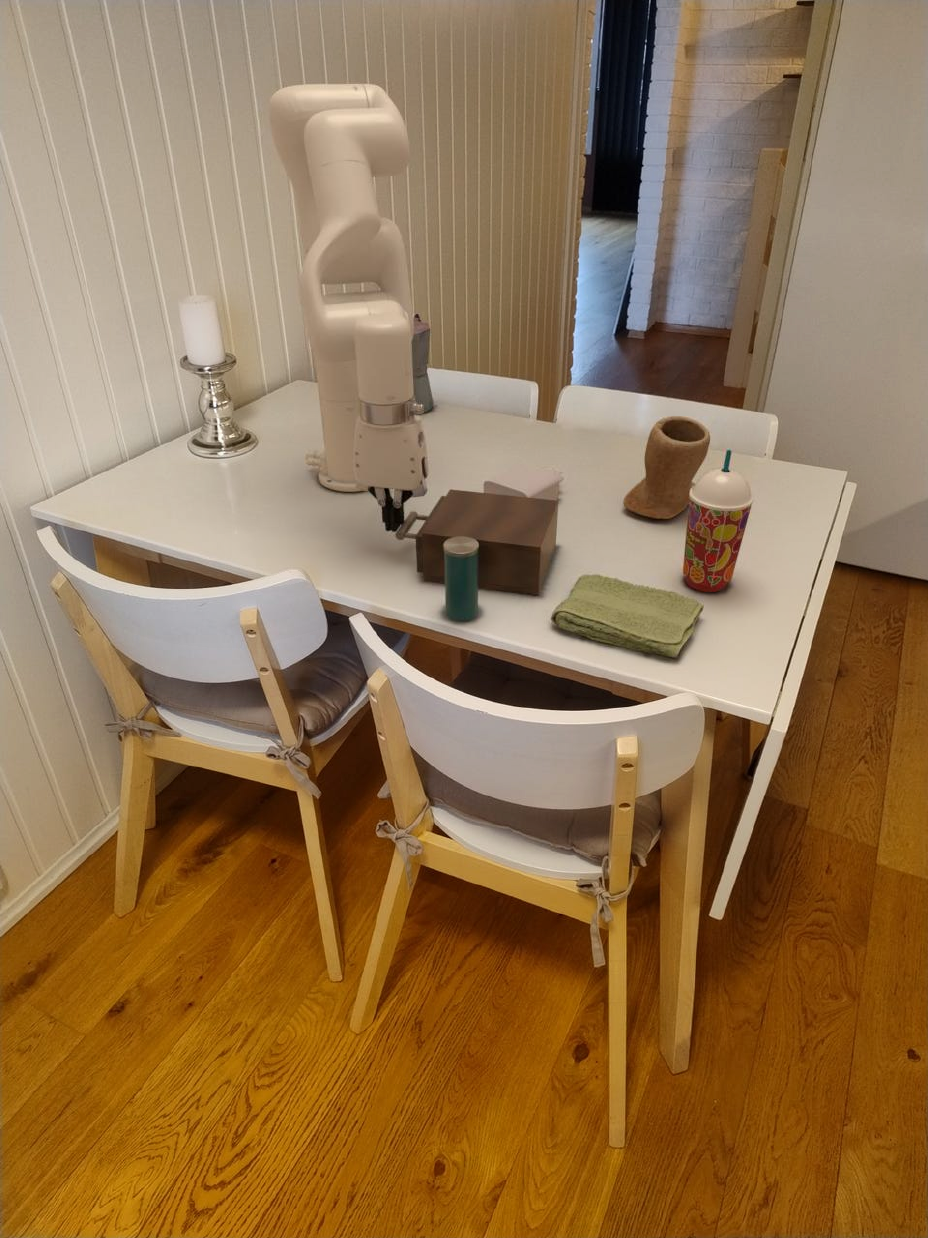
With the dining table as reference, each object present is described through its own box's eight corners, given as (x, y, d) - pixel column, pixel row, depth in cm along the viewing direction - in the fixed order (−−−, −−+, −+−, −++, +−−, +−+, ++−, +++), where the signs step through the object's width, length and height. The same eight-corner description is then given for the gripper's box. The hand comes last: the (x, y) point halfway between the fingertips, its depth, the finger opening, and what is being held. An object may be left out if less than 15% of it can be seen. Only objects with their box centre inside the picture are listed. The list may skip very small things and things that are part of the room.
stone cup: (681, 532, 133) (695, 442, 124) (613, 513, 138) (622, 426, 130) (716, 497, 143) (731, 413, 135) (651, 481, 149) (662, 399, 140)
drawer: (389, 568, 122) (386, 532, 119) (416, 526, 133) (415, 492, 130) (522, 585, 118) (524, 549, 114) (539, 541, 129) (541, 506, 125)
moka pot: (382, 418, 176) (376, 320, 165) (399, 394, 189) (394, 301, 178) (426, 420, 175) (423, 322, 164) (440, 396, 187) (438, 303, 176)
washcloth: (679, 666, 103) (683, 645, 102) (546, 630, 110) (547, 610, 108) (704, 613, 113) (708, 593, 111) (580, 584, 120) (582, 564, 118)
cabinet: (423, 580, 121) (421, 532, 116) (450, 534, 133) (450, 489, 128) (538, 595, 117) (540, 546, 113) (555, 546, 129) (558, 500, 125)
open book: (578, 490, 146) (527, 520, 136) (535, 476, 151) (483, 504, 141) (580, 465, 143) (528, 494, 134) (536, 451, 148) (483, 478, 139)
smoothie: (668, 569, 123) (687, 439, 112) (724, 566, 124) (748, 437, 113) (686, 599, 116) (708, 464, 105) (744, 596, 117) (772, 462, 106)
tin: (449, 601, 116) (448, 534, 110) (482, 605, 115) (482, 538, 109) (440, 619, 112) (439, 550, 107) (474, 624, 111) (474, 555, 106)
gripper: (446, 404, 117) (448, 522, 127) (346, 395, 120) (356, 511, 131) (430, 423, 111) (434, 545, 121) (326, 413, 114) (338, 532, 125)
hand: (393, 527), depth 126 cm, fingers closed
